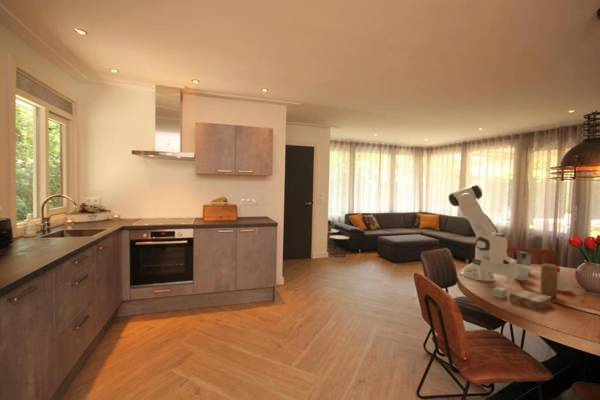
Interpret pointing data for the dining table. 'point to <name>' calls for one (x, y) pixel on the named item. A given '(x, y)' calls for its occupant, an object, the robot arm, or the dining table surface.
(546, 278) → the block
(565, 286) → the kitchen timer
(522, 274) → the teacup
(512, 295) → the walnut base block
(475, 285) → the dining table surface
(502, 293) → the sage cube
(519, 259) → the coffee box
